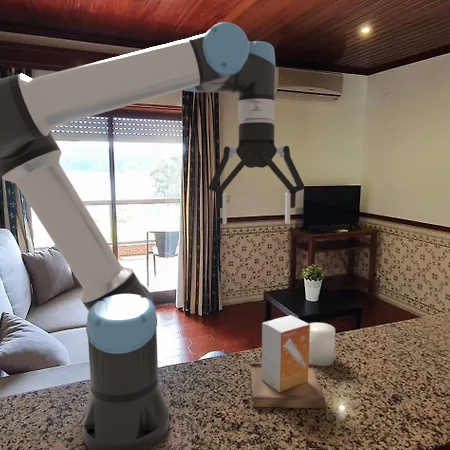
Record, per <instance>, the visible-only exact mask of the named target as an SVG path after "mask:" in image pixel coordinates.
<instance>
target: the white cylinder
mask: <svg viewBox="0 0 450 450" xmlns="http://www.w3.org/2000/svg"><path fill="white" fill-rule="evenodd" d="M309 324H310V339H309V363H312V366H316V367H328V366H331V365H333V364H334V363H335V349H336V347H335V346H336V345H335V344H336V328H335V327H334V326H333V325H331V324H330V323H329V324H328V323H325V322H310V323H309Z"/></svg>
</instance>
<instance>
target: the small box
mask: <svg viewBox="0 0 450 450" xmlns="http://www.w3.org/2000/svg"><path fill="white" fill-rule="evenodd" d="M261 324H262V325H261V326H262V327H261V328H262V329H261V362H262V380H263V381H264V382H266V383H267V384H269V385H270V386H271V387H273V388H274V389H276V390H277V391H278V392H282V391H285V390H287V389H290V388H292V387H295V386H297V385H300V384H302V383H306V382H308V368H309V339H310V323H308V322H306V321H304V320H301V319H300V318H298V317H296V316H294V315H290V314H289V315H287V316H282V317H278V318H277V317H276V318H275V319H271V320H267V321H264V322H262V323H261Z"/></svg>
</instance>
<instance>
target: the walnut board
mask: <svg viewBox="0 0 450 450" xmlns="http://www.w3.org/2000/svg"><path fill="white" fill-rule="evenodd" d="M250 379H251V380H250V381H251V382H250V383H251V397H252V399H251V401H252V407H253V408H301V409H302V408H303V409H305V408H306V409H307V408H308V409H309V408H310V409H311V408H312V409H324V408H325V399H326V398H325V395H323V392H322V389H321V388H320V384H319V381H318V378H317V377H316V374H315V370H314V369H313V364H312V363H309V368H308V382H306V383H302V384H300V385H297V386H295V387H292V388H290V389H287V390H285V391H282V392H278V391H277V390H276V389H274V388H273V387H271V386H270V385H269V384H267V383H266V382H264V381H263V380H262V361H250Z"/></svg>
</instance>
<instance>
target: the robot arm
mask: <svg viewBox="0 0 450 450" xmlns="http://www.w3.org/2000/svg"><path fill="white" fill-rule="evenodd" d="M276 69H277V68H276V55H275V48H274V46H273V45H272V44H271V43H269V42H266V41H263V40H262V41H260V40H255V41H249V40H248V36H247V35H246V33H245V31H244V30H243V29H242V28H241V27H240V26H238V25H237V24H235V23H233V22H228V21H223V22H218V23H217V24H214V25H213V26H212V27H211V28H209V29H208V30H207V31H206V32H205V33H203V34H202V33H201V34H199V35H195V36H192V37H188V38H185V39H181V40H175V41H173V42H169V43H166V44H161V45H157V46H152V47H149V48H145V49H141V50H138V51H135V52H134V51H133V52H130V53H126V54H121V55H119V56H115V57H111V58H107V59H104V60H103V59H102V60H99V61H96V62H91V63H88V64H84V65H79V66H75V67H72V68H71V67H70V68H67V69H63V70H60V71H56V72H52V73H48V74H45V75H40V76H37V77H33V78H32V77H29V76H27V75H25V74H23V73H20V74H14V75H11V76H7V77H3V78H0V177H1V178H2V180H4V181H7V182H11V183H14V184H15V185H17V187H18V189H19V191H20V192H21V194H22V195H23V197H24V198H25V200H26V201H27V203H28V204H29V206H30V207H31V209H32V211H33V212H34V214H35V215H36V217H37V219H38V220H39V221H40V223H41V225H42V226H43V228H44V229H45V231H46V232H47V234H48V235H49V238H50V239H51V240H52V242H53V244H54V245H55V247H56V248H57V249H58V251H59V253H60V255H61V256H62V258H63V259H64V261H65V262H66V264H67V265H68V267H69V268H70V270H71V272H72V274H73V275H74V277H75V278H76V279H77V281H78V282H79V284H80V286H81V287H82V288H83V292H82V296H81V299H80V300H81V302H82V304H83V305H84V307H85V308H86V309H87V311H88V312H87V319H86V326H85V331H86V336H87V340H88V341H87V342H88V346H87V347H88V357H89V358H88V359H89V377H90V378H89V379H90V391H91V393H90V397H89V401H88V404H87V407H86V411H85V415H84V418H83V424H82V433H83V435H82V437H83V438H82V439H83V442H84V445H85V446H86V447H87V448H88V449H89V450H149V449H151V448H153V447H154V446H156V445H157V444H158V443H160V442H161V441H162V439H164V437H165V436H166V435H167V433H168V431H169V428H170V411H169V410H170V409H169V407H168V405H167V401H166V399H165V397H164V394H163V391H162V389H161V387H160V384H159V366H158V365H159V363H158V335H157V332H158V331H157V328H158V316H157V313H156V307H155V303H154V298H153V295H152V294H151V292H150V291H149V289H148V288H147V287H146V286H145V285H144V284H143V283H142V282H141V281H140V280H139V278H138V277H137V275H136V274H135V272H134V270H133V269H132V268H129V267H125V266H123V265H121V263H120V261H119V259H118V258H117V255H115V252H114V251H113V249H111V247H110V245H109V243H108V241H107V240H106V238H105V236H104V235H103V233H102V232H101V230H100V228H99V227H98V225H97V223H96V222H95V221H94V218H93V217H92V215H91V214H90V212H89V210H88V208H87V206H86V205H85V204H84V202H83V200H82V199H81V196H80V195H79V194H78V192H77V191H76V189H75V187H74V186H73V184H72V181H70V179H69V177H68V176H67V173H66V172H65V170H64V168H62V166H61V163H60V160H61V159H60V158H61V155H62V150H61V149H60V147H59V145H58V143H57V142H56V140H55V138H54V136H53V134H52V133H51V132H52V131H51V130H52V128H55V127H58V126H62V125H65V124H68V123H72V122H76V121H78V120H79V121H80V120H82V119H85V118H88V117H89V118H91V117H93V116H96V115H99V114H103V113H106V112H107V113H108V112H110V111H114V110H117V109H120V108H121V109H122V108H125V107H128V106H130V105H135V104H138V103H139V104H140V103H141V102H144V101H149V100H152V99H155V98H159V97H162V96H166V95H169V94H173V93H177V92H180V91H184V92H192V93H193V92H195V93H197V94H199V93H229V94H230V93H231V94H238V99H237V100H238V105H237V106H238V121H239V125H238V145H237V147H236V148H235V147H230V146H227V145H226V146H225V147H224V148H223V154H222V158H221V160H220V162H219V165H218V167H217V169H216V171H215V173H214V175H213V177H212V179H211V182H210V183H209V186H208V189H209V191H211V192H214V193H215V194H216V195H217V196H216V197H217V198H216V199H217V202H216V203H217V206H216V207H217V208H218V209H222V225H227V224H228V223H227V221H228V220H227V217H228V216H227V211H228V210H227V209H228V208H227V198H228V197H227V193H226V192H224V191H225V190H226V188H227V187H228V186H229V185H230V184H231V182H233V180H234V179H235V177H236V176H237V175H238V174H239V173H240V171H242V169H243V168H244V167H246V168H249V169H253V168H260V169H261V168H262V169H263V168H266V167H268V168H269V169H270V170H271V172H273V173H274V175H275V176H276V177H277V178H278V180H280V182H281V183H282V185H284V186H285V188H286V189H287V190H288V192H285V205H284V207H285V208H284V209H285V211H284V220H285V221H284V222H285V224H286V225H290V224H291V209H295V207H296V202H297V201H296V195H297V192H300V191H304V189H305V184H304V182H303V180H302V178H301V176H300V174H299V172H298V170H297V168H296V165H295V164H294V162H293V159H292V157H291V151H290V150H291V148H290V147H289V146H290V145H289V146H288V145H285V146H280V147H276V145H275V123H272V122H273V121H275V113H276V111H275V91H276V90H275V89H276V87H275V86H276ZM235 154H236V155H237V156H238V158H239V159H240V162H238V163H237V165H236V166H235V168H234V169H233V170H232V171H231V172H230V173H229V175H228V176H227V177H226V178H225V179H224V180H223V182H222V183H221V184H220V185H219V186H218V185H217V184H218V183H219V180H220V179H221V177H222V174H223V172H224V170H225V168H226V166H227V164H228V162H229V159H230V158H232V157H233V156H234V155H235ZM277 154H279V156H280V157H281V158H283V161H284V163H285V165H286V167H287V168H288V171H289V173H290V175H291V178H292V180H293V181H294V183H295V185H293V184H292V183H291V181H290V180H289V179H288V177H286V175H285V173H283V172H282V171H281V169H280V168H279V167H278V166H277V164H276V163H275V162H274V161H273V158H274V157H275V155H277Z"/></svg>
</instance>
